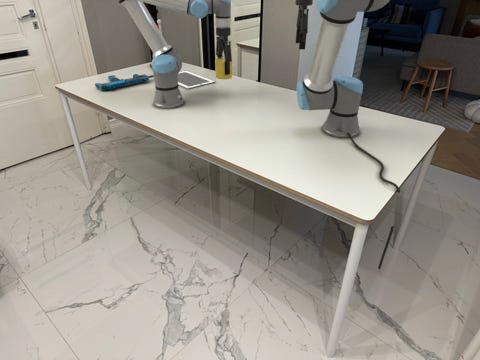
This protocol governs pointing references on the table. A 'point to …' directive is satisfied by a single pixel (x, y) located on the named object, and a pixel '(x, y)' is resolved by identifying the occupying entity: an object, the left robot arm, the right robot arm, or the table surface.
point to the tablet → (191, 80)
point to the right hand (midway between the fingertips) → (300, 46)
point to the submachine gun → (122, 81)
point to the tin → (222, 69)
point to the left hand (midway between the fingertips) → (223, 72)
